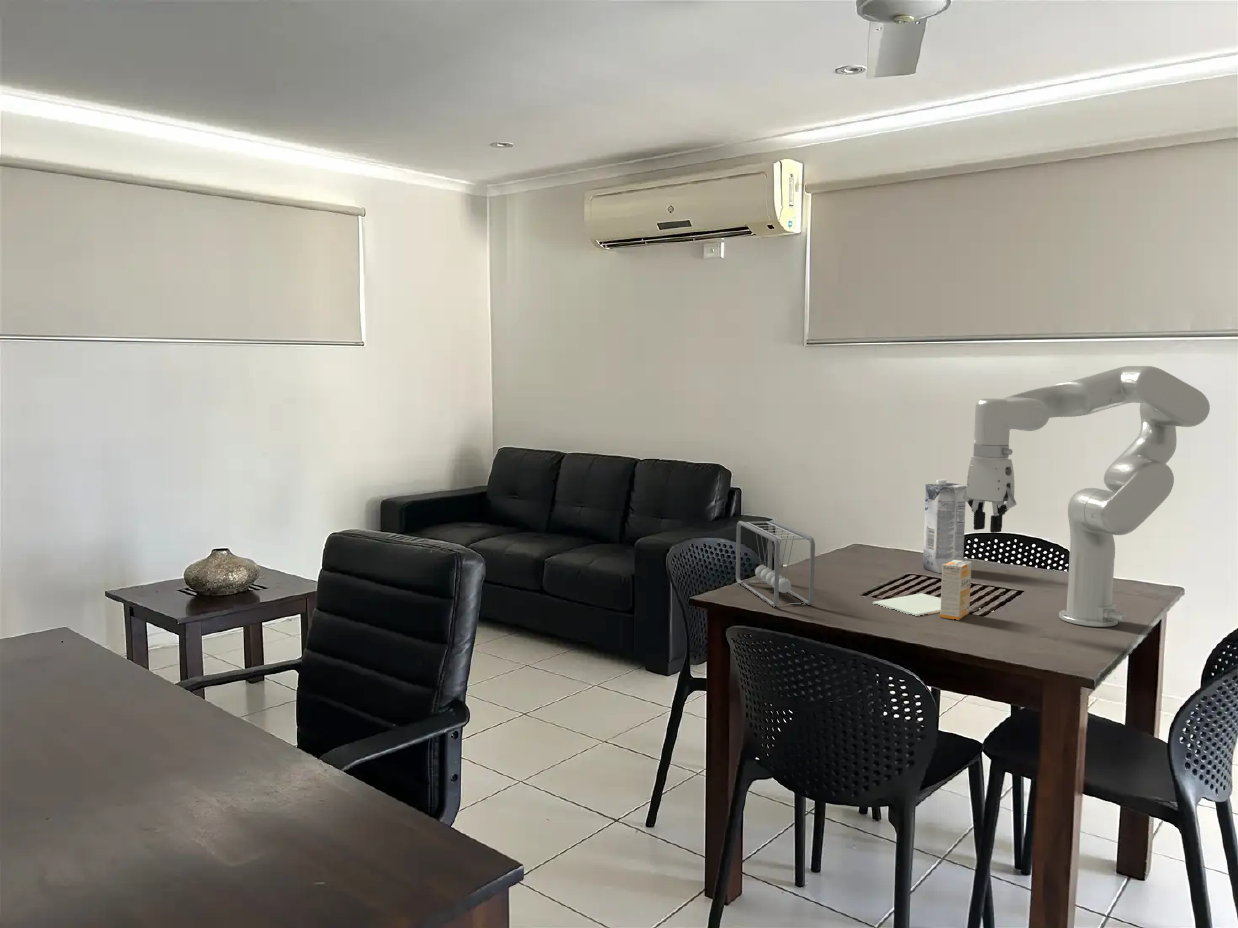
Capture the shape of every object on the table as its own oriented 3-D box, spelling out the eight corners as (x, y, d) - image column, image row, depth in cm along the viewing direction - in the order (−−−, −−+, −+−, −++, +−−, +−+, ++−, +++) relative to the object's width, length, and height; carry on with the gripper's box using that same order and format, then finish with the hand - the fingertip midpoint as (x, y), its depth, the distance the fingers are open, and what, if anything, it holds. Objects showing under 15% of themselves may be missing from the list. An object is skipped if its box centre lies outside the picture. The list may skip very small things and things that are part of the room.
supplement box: (959, 620, 219) (962, 566, 218) (939, 617, 222) (941, 564, 221) (970, 613, 226) (972, 561, 225) (950, 610, 229) (952, 558, 228)
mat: (965, 607, 232) (965, 604, 232) (916, 616, 223) (916, 614, 223) (921, 595, 244) (921, 593, 244) (872, 604, 235) (872, 601, 235)
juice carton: (967, 571, 273) (971, 481, 270) (939, 574, 269) (942, 482, 266) (945, 565, 281) (949, 477, 278) (918, 568, 277) (921, 479, 274)
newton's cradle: (735, 582, 259) (736, 519, 257) (770, 580, 261) (771, 518, 259) (774, 609, 229) (776, 539, 228) (814, 607, 231) (816, 537, 230)
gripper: (1033, 454, 208) (1029, 534, 210) (971, 448, 222) (967, 524, 224) (1012, 456, 204) (1008, 537, 206) (950, 450, 218) (947, 526, 220)
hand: (987, 529), depth 215 cm, fingers open, 3 cm apart
